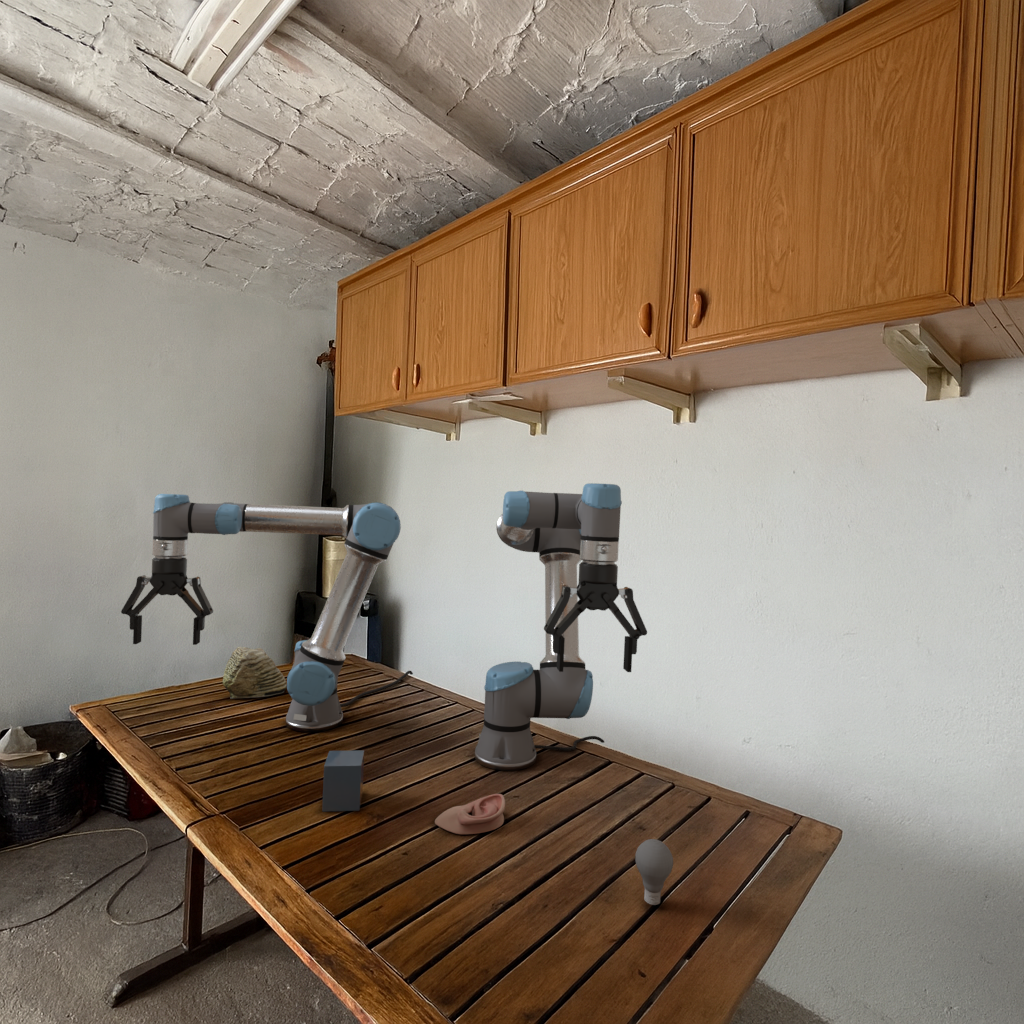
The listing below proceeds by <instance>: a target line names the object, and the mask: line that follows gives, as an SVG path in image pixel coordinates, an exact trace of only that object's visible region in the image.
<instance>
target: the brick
mask: <svg viewBox="0 0 1024 1024" xmlns="http://www.w3.org/2000/svg"><path fill="white" fill-rule="evenodd" d="M364 768H365V750H358V749H357V750H329V751H328V753H327V757H326V759H325V762H324V765H323V782H322V785H323V786H322V809H321V811H322V813H325V812H326V813H327V812H359V811H360V809H361V804H362V798H363V793H364V791H363V790H364Z"/></svg>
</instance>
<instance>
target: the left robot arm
mask: <svg viewBox="0 0 1024 1024" xmlns="http://www.w3.org/2000/svg"><path fill="white" fill-rule="evenodd" d="M153 506H154V507H153V511H152V514H153V521H152V522H153V524H152V527H153V528H152V529H153V531H152V556H153V558H152V559H151V576H146V574H143V575H140V576H138V577H137V578H136V583H135V587H134V588H133V590H132V592H131V593H130V595H129V596H128V598H127V599H126V602H125V604H124V605H123V607H122V609H121V611H120V612H121V615H126V616H128V617H129V630H130V631H133V632H132V634H133V635H132V640H133V641H132V645H137V644H140V643H142V634H143V633H142V630H143V628H142V627H143V626H142V625H143V615H142V614H141V615H140V613H141V612H142V611H143V610H144V609H145V608H146V607H147V606H148V605H149V604H150V603H151V602H152V601H153V599H155V597H156V596H158V595H160V596H166V595H167V596H176V595H177V596H178V597H179V598H180V599H182V601H183V602H184V603H185V604H186V605H187V607H188V608H189V609H190V610H191V612H192V613H193V614H195V616H196V617H194V618H193V625H192V626H193V627H192V629H193V630H192V631H193V632H192V645H193V646H196V645H198V644H200V643H201V631H203V630H205V628H206V627H205V624H206V623H205V622H206V617H207V616H210V615H211V614H213V613H214V609H213V607H212V605H211V603H210V600H209V598H208V596H207V594H206V593H205V590H204V589H203V587H202V581H201V577H200V576H195V577H188V576H187V570H188V559H187V557H186V556H187V555H188V539H189V537H188V536H189V534H205V535H206V534H208V535H223V536H228V535H238V534H239V533H245V532H246V533H247V532H250V533H270V534H271V533H275V534H299V535H300V534H301V535H323V536H325V535H327V536H329V535H330V536H343V537H344V538H345V541H344V544H343V545H344V548H345V551H346V554H345V556H344V559H343V560H342V563H341V566H340V568H339V571H338V573H337V576H336V578H335V580H334V582H333V584H332V587H331V589H330V592H329V594H328V597H327V599H326V601H325V604H324V606H323V609H322V611H321V614H320V615H319V617H318V618H319V619H318V620H317V622H316V625H315V628H314V631H313V633H312V635H311V637H310V638H309V639H303V640H299V641H297V642H296V643H295V648H294V650H293V651H294V661H293V664H292V667H291V668H290V671H289V672H288V674H287V677H286V685H287V687H286V689H287V692H288V695H289V696H290V698H291V702H290V704H289V708H288V711H287V713H286V715H285V726H286V728H287V729H289V730H291V731H294V732H295V731H296V732H301V733H316V732H325V731H329V730H332V729H335V728H337V727H339V726H340V725H342V723H343V722H344V714H343V709H342V708H345V707H348V706H351V705H352V704H353V703H354V702H356V701H357V700H358V699H360V698H362V697H365V696H368V695H372V694H374V693H378V692H380V691H384V690H386V689H388V688H391V687H393V686H396V685H397V684H399V683H400V682H401V681H402V680H403V679H405V678H406V677H408V675H411V676H412V675H414V672H413V671H412V670H407V671H406V672H405V673H404V674H402V675H401V676H400V677H399V678H397V679H396V680H395V681H392V682H390V683H388V684H385V685H383V686H380V687H378V688H374V689H371V690H368V691H367V690H366V691H364V692H362V693H359V694H357V695H356V696H354V697H353V698H351V699H350V700H348V701H347V702H344V703H341V702H340V699H339V695H338V682H339V681H338V680H339V678H338V677H339V675H340V673H341V670H342V668H343V665H344V664H345V660H346V657H347V656H346V654H345V653H344V648H345V645H346V643H347V640H348V638H349V636H350V634H351V631H352V629H353V626H354V624H355V622H356V619H357V617H358V614H359V612H360V609H361V607H362V605H363V602H364V601H365V597H366V595H367V593H368V591H369V588H370V585H371V583H372V581H373V579H374V576H375V574H376V572H377V569H378V566H379V565H380V564H382V563H384V562H387V560H388V558H389V555H390V553H391V550H392V548H393V546H394V543H396V541H397V540H398V538H399V535H400V533H401V528H402V526H401V519H400V517H399V514H398V513H397V511H396V510H395V509H394V508H393V507H392V506H390V505H388V504H386V503H384V502H383V503H382V502H369V503H365V504H364V503H363V504H346V505H345V506H344V507H326V506H306V505H304V506H303V505H283V504H282V505H281V504H280V505H279V504H259V503H237V502H236V503H234V502H222V503H204V502H203V503H199V502H198V503H197V502H191V500H190V496H189V495H187V494H179V493H158V494H157V495H156V496H155V497H154V503H153ZM148 584H150V585H151V586H152V589H150V591H149V592H148V593H146V595H145V596H144V597H143V599H141V601H140V602H139V603H138V604H136V603H137V601H138V599H139V597H140V596H141V595H142V593H143V590H144V589H145V587H146V586H147V585H148ZM188 584H189V586H190V587H192V590H193V592H194V594H195V597H196V598H197V601H198V602H197V601H196V600H195V599H194V597H193V596H192V595H191V594H190V592H189V590H188V589H187V588H186V586H187V585H188ZM199 604H200V605H199ZM135 605H136V606H135Z"/></svg>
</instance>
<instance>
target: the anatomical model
mask: <svg viewBox="0 0 1024 1024" xmlns="http://www.w3.org/2000/svg"><path fill="white" fill-rule="evenodd" d="M505 809H506V799H505V796H504V795H503V794H501V793H493V794H490V795H485V796H482V797H480V798H478V799H476V800H473V801H471V802H469V803H465V804H463V805H456V806H452V807H450V808H448V809H446V810H445V811H442V813H440V814H439V815H438V816H437V817H436V818H435V820H434V824H435V825H436V826H438V827H439V828H441V829H443V830H445V831H447V832H450V833H451V834H456V835H473V834H475V835H476V834H482V833H487V832H491V831H494V830H496V829H499V828H500V827H501V826H502V825H504V822H505V816H504V811H505Z"/></svg>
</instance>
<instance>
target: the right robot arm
mask: <svg viewBox="0 0 1024 1024" xmlns="http://www.w3.org/2000/svg"><path fill="white" fill-rule="evenodd" d="M622 503H623V501H622V488H621V487H620V486H619V485H618V484H615V483H614V484H613V483H595V482H594V483H593V482H592V483H591V482H590V483H589V482H588V483H585V484H584V486H583V487H582V493H569V492H568V493H567V492H566V493H565V492H544V491H543V492H540V491H524V490H516V491H515V490H512V491H511V490H510V491H506V492H505V493H504V496H503V503H502V514H501V515H500V516H499V517H498V519H497V522H496V533H497V536H498V538H499V539H500V541H501V542H503V543H504V545H506V546H508V547H510V548H512V549H515V550H517V551H519V552H520V551H521V552H526V553H538V555H539V558H538V560H539V561H540V562H541V563H542V564H543V565H544V597H545V598H544V601H545V603H544V605H545V606H544V607H545V612H544V613H545V614H544V616H545V618H544V619H545V620H544V621H545V624H544V626H543V630H544V632H545V655H544V657H543V658H542V659H541V660H540V661H539V669H534V667H533V665H532V664H531V663H530V662H528V661H527V662H526V661H507V662H501V663H498V664H495V665H493V666H491V667H490V668H488V670H487V672H486V675H485V683H484V684H485V685H484V687H483V689H484V706H483V707H484V708H483V727H482V730H481V731H480V732H478V742H477V743H476V746H475V748H474V759H475V761H476V762H477V763H478V764H479V765H481V766H483V767H485V768H488V769H491V770H496V771H497V770H498V771H520V770H524V769H527V768H529V767H531V766H533V765H534V764H535V763H536V760H537V749H540V750H552V751H561V752H572V751H575V750H576V749H577V747H578V746H577V745H578V744H580V743H582V742H585V741H589V740H597V741H598V742H600V743H605V740H604V739H603V738H601V737H599V736H597V735H588V736H585V737H581V738H578V739H576V740H574V741H573V745H572V746H571V747H561V746H553V745H543V744H535V742H534V738H533V735H532V731H531V719H566V720H570V719H581V718H583V717H585V716H586V715H587V714H588V712H589V710H590V707H591V704H592V700H593V693H594V692H593V691H594V678H593V677H594V676H593V673H592V671H591V670H589V669H586V661H584V659H582V657H580V635H579V634H580V633H579V632H580V631H579V629H580V628H579V616H580V615H581V614H582V613H583V612H585V610H586V609H587V610H589V611H596V610H598V611H605V612H606V610H609V611H610V612H611V613H612V615H613V616H614V617H615V619H616V620H617V621H618V622H619V624H620V625H621V626H622V628H623V629H624V631H626V633H627V634H628V635H624V643H623V645H624V647H623V665H622V666H623V670H624V671H625V672H627V673H632V665H633V664H632V663H633V655H636V654H637V653H638V640H639V639H640V637H642V636H647V634H648V630H647V628H646V625H645V623H644V621H643V619H642V616H641V614H640V612H639V609H638V607H637V605H636V602H635V600H634V590H633V588H630V587H628V586H625V587H623V588H618V575H619V574H618V571H619V567H618V565H617V564H616V563H617V562H618V561H619V547H620V545H619V544H620V530H621V529H620V528H621V525H620V524H621V511H622V510H621V509H622V508H621V506H622ZM619 595H620V598H621V599H623V601H624V604H625V606H626V608H627V610H628V613H629V615H630V618H631V619H632V621H633V624H634V626H635V628H634V627H633V626H632V624H631V622H630V621H629V620H628V618H627V617H626V616H625V615H624V614H623V612H622V611H621V610H620V608H619V607H618V605H617V604H616V603H615V601H616V599H617V598H618V597H619Z"/></svg>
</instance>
